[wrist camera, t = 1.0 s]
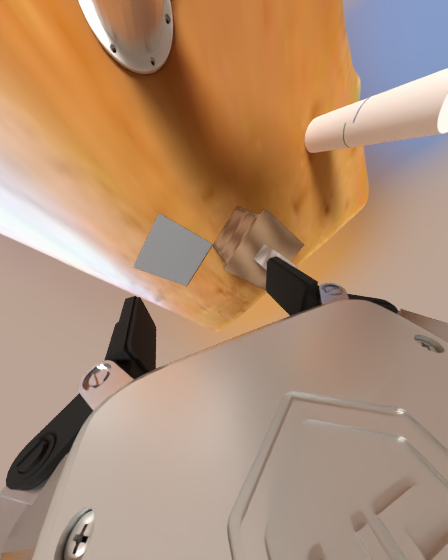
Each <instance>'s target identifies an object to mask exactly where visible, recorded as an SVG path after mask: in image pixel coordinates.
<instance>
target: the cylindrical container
mask: <svg viewBox="0 0 448 560" xmlns="http://www.w3.org/2000/svg"><path fill="white" fill-rule="evenodd" d="M446 132H448V68H447V69H445V70H442V71H439V72H436V73H434V74H431V75H429V76H426V77H423V78H420V79H417V80H415V81H412V82H410V83H407V84H404V85H402V86H399V87H396V88H394V89H391V90H388V91H386V92H383V93H381V94H378V95H375V96H373V97H370V98H367V99H364V100H361V101H359V102H356V103H353V104H351V105H348V106H345V107H343V108H340V109H337V110H335V111H332V112H329V113H327V114H324V115H321V116H319V117H316V118H315V119H313V120H312V121H311V123H310V124H309V126H308V128H307V130H306V134H305V147H306V149H307V151H308V152H310V153H317V152H323V151H330V150H337V149H343V148H350V147H356V146H363V145H369V144H376V143H383V142H388V141H396V140H401V139H409V138H414V137H422V136H428V135H435V134H441V133H446Z"/></svg>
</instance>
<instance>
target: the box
mask: <svg viewBox="0 0 448 560" xmlns="http://www.w3.org/2000/svg"><path fill="white" fill-rule="evenodd" d="M259 215H260V214H257V213H255V212H252V211H249V210H246V209H244V208H241V207H238V206H237V207H236V209H235V210H234V212H233V214H232V215H231V217H230V218H229V220H228V222H227V223H226V225H225V226H224V228H223V230H222V231H221V233H220V234H219V236H218V238H217V239H216V241H215V242H214V244H213V247H214V248H215V249H216V251H217V252H218V253H219V255H220V256H221V257H222V258H223V260H224V261H225V262H226V263H228V261H229V260H230V258H231V257H232V255H233V254H234V252H235V251H236V249H237V248H238V246H239V245H240V243H241V242H242V240H243V239H244V237H245V236H246V234H247V233H248V231H249V230H250V229H251V227H252V226H253V224H254V223H255V221H256V220H257V218H258V217H259Z"/></svg>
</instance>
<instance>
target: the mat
mask: <svg viewBox="0 0 448 560" xmlns="http://www.w3.org/2000/svg"><path fill="white" fill-rule="evenodd" d="M211 246H212V243H210V242H208V241H207V240H205V239H203V238H201V237H200V236H198V235H196V234H194V233H193V232H191V231H189V230H187V229H186V228H184V227H182V226H181V225H179V224H177V223H175V222H174V221H172V220H170V219H168V218H167V217H165V216H163V215H161V214H160V213H159V214H158V216H157V218H156V220H155V222H154V225H153V227H152V229H151V231H150V233H149V235H148V237H147V239H146V241H145V244H144V246H143V248H142V250H141V252H140V254H139V256H138V258H137V260H136V263H135V265H134V268H137V269H140V270H143V271H146V272H148V273H151V274H154V275H157V276H160V277H163V278H165V279H168V280H171V281H174V282H177V283H180V284H182V285H185V286H187V285H188V283H189V281H190V280H191V278H192V276H193V275H194V273H195V272H196V270H197V268H198V267H199V265H200V263H201V262H202V260H203V259H204V257H205V255H206V254H207V252H208V251H209V249H210V247H211Z"/></svg>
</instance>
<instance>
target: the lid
mask: <svg viewBox="0 0 448 560" xmlns="http://www.w3.org/2000/svg"><path fill="white" fill-rule="evenodd" d="M303 246H304V244H303V243H302V242H301V241H300V240H299V239H298V238H297V237H296V236H295V235H293V234H292V233H291V232H290V231H289V230H288V229H287V228H286V227H285V226H284V225H283V224H282V223H281V222H280V221H279V220H278V219H276V218H275V217H274V216H273V215H272V214H271V213H270V212H269V211H268V210H266V209H263V211H262V212H261V214H260V215H259V217H258V218H257V220H256V221H255V223H254V224H253V226H252V227H251V229H250V230H249V231H248V233H247V234H246V236H245V237H244V239H243V240H242V242H241V243H240V245H239V246H238V248H237V249H236V251H235V252H234V254H233V255H232V257H231V258H230V260H229V261H228V263H227V264H226V265H225V267H224V268H223V269H224V270H225V271H226V272H229V273H231V274H233V275H235V276H237V277H239V278H241V279H243V280H245V281H247V282H249V283H251V284H253V285H255V286H258V287H260V288H262V289H264V290H266V271H267V261H268V260H269V258H272V257H275V256H277V257H279V258H281V259H282V260H284V261H285V262H287V263H289V264H290V265H292V266H293V267H295V268H296V267H297V266H295V265H294V264H293V263H291V261H292V259H293V258H294V257H295V256H296V254H297V253H298V252H299V251H300V249H301V248H302V247H303Z"/></svg>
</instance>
